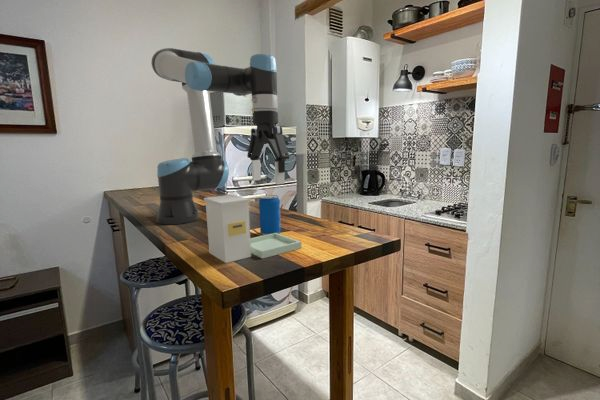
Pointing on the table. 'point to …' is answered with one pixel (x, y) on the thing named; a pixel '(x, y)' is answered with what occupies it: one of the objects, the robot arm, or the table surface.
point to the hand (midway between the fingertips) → (267, 182)
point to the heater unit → (228, 227)
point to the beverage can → (269, 214)
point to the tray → (273, 245)
